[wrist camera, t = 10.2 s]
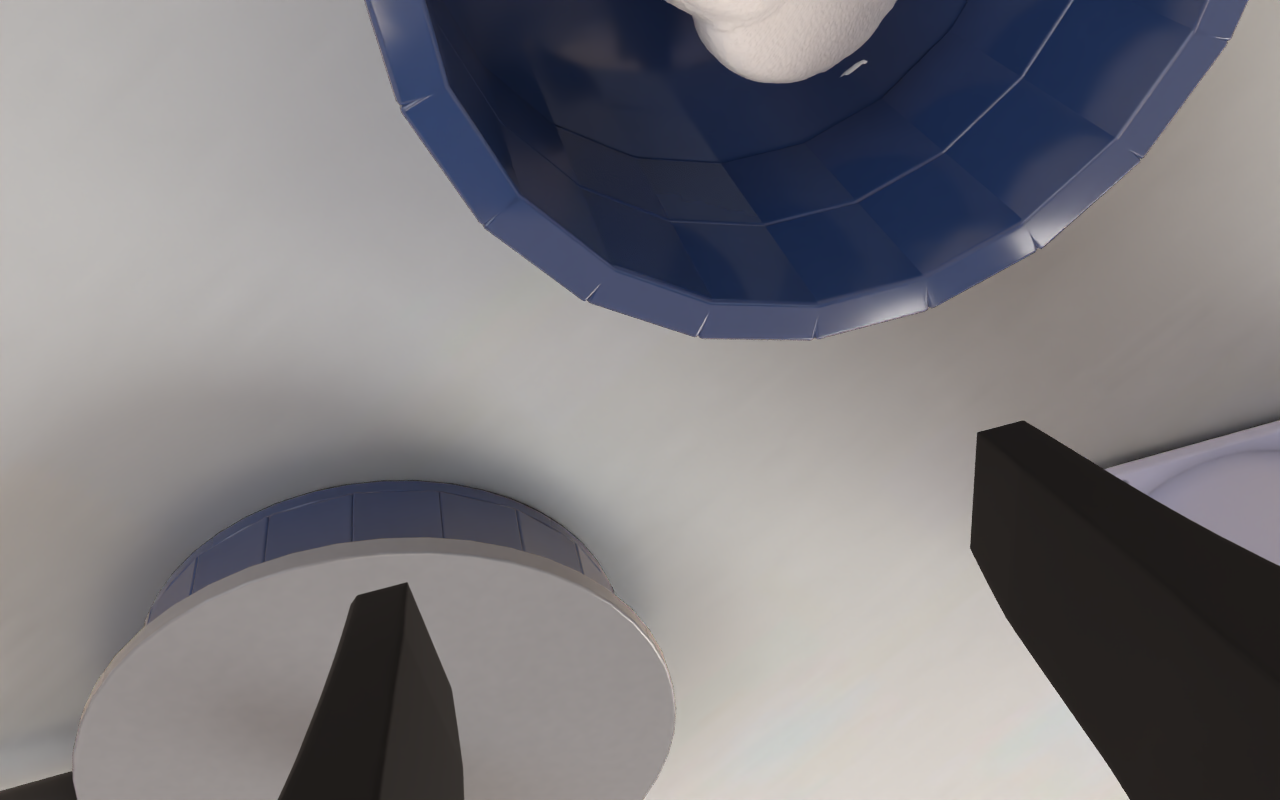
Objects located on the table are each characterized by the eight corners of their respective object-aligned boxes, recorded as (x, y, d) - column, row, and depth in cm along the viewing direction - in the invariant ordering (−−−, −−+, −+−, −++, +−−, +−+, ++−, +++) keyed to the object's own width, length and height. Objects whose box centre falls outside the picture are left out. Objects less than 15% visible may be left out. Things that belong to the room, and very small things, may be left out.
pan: (569, 423, 24) (590, 502, 22) (650, 731, 31) (672, 814, 29) (42, 562, 23) (8, 659, 21) (251, 846, 30) (243, 941, 28)
